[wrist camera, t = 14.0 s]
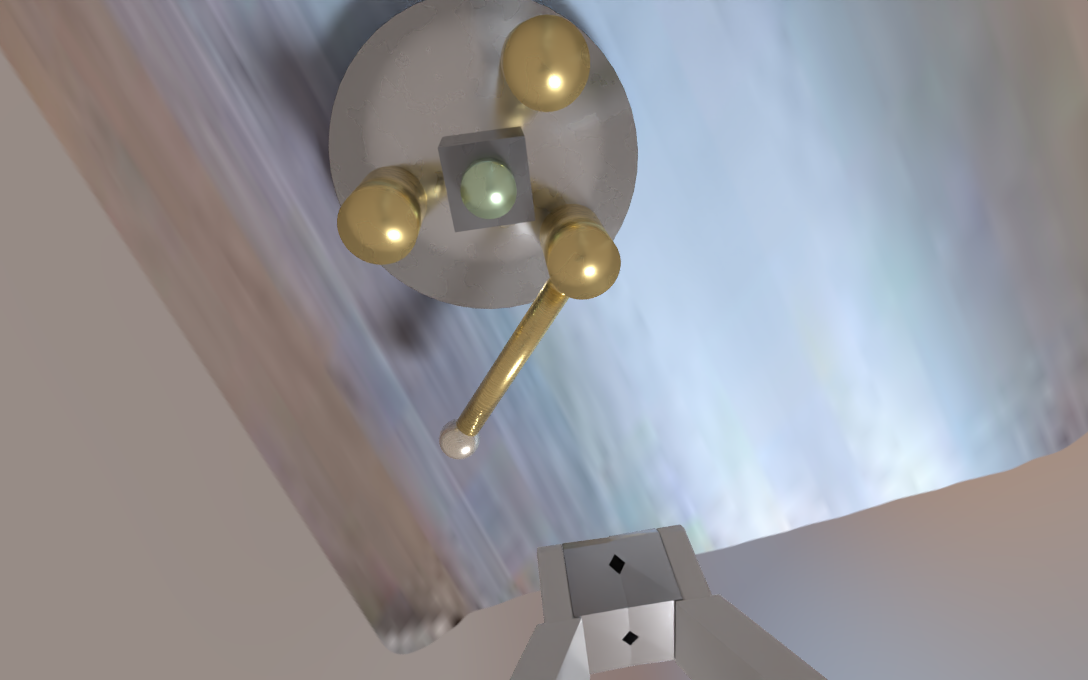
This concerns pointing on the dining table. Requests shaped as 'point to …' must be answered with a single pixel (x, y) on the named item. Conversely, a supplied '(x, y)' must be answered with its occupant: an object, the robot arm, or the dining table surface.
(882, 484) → the dining table surface
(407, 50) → the tribrach
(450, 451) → the brass lever handle
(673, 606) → the robot arm
